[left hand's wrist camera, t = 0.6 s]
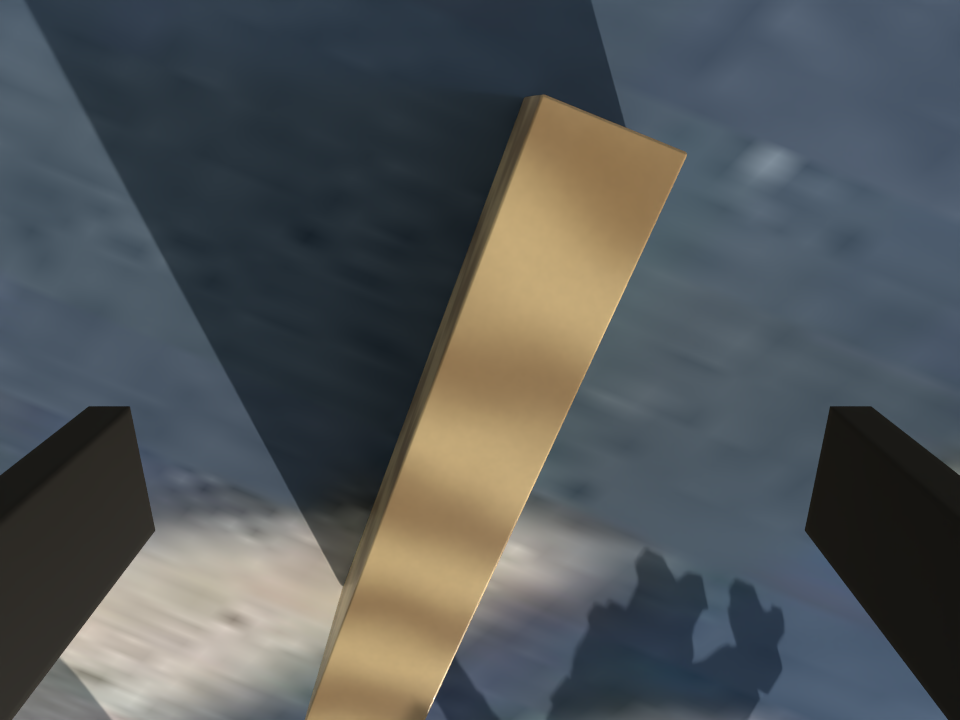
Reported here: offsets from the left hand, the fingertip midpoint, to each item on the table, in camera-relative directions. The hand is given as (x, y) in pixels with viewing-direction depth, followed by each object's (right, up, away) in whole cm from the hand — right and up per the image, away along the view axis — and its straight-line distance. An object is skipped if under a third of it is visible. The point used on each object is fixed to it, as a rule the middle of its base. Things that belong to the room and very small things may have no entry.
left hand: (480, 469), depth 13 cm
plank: (-1, 0, +21) cm, 21 cm away
